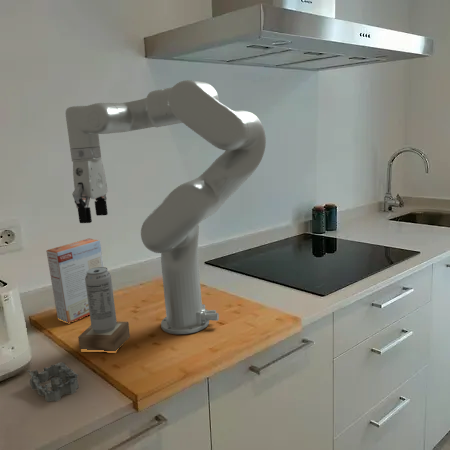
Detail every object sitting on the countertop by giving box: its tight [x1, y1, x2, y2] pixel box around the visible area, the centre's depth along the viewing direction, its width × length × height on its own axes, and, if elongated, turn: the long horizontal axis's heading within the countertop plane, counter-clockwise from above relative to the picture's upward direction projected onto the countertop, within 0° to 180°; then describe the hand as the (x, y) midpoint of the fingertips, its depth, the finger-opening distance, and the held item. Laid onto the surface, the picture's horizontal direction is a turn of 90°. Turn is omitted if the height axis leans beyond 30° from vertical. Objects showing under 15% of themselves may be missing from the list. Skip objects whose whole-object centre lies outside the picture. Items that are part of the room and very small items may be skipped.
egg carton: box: [26, 362, 79, 403], centre depth 98 cm, size 11×8×4 cm
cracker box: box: [46, 238, 104, 323], centre depth 135 cm, size 14×6×21 cm, turn 141°
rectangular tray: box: [78, 321, 131, 351], centre depth 117 cm, size 9×9×4 cm
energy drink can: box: [85, 267, 118, 333], centre depth 115 cm, size 6×6×15 cm
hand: (94, 218), depth 128 cm, fingers open, 9 cm apart
